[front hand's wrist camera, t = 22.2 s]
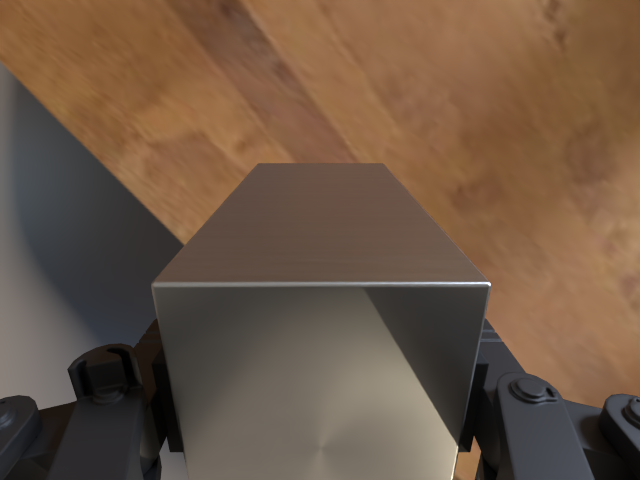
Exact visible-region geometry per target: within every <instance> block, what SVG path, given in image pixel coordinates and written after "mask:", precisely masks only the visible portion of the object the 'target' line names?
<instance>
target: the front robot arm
mask: <svg viewBox="0 0 640 480" xmlns="http://www.w3.org/2000/svg"><path fill="white" fill-rule="evenodd" d="M68 373H69V376H70V379H71V382H72V385H73V388H74V391H75V395H76V397H77V401H75V402H71V403H68V404H63V405H59V406H55V407H51V408H46V409H42V410H38V408H37V405H36V402H35V401H34V400H33V399H32V398H30V397H29V396H21V395H17V396H12V397H6V398H3V399H0V480H160V479H161V468H162V466H161V460H160V455H159V452H160V450H161V447H162V445H163V443H164V441H165V439H166V436H167V440H168V444H169V450H170V452H183V448H182V443H181V437H180V432H179V427H178V422H177V417H176V412H175V407H174V401H173V396H172V391H171V386H170V381H169V376H168V370H167V365H166V360H165V355H164V350H163V345H162V340H161V334H160V329H159V324H158V319H155V320H154V321H153V323H152V324H151V325H150V327H149V328H148V329H147V331H146V334H144V335H143V336H142V338H141V339H140V340H139V343H137V344H136V346H135V347H134V348H132V347H131V346H130V345H125V344H108V345H104V346H101V347H97V348H95V349H93V350H90V351H88V352H86V353H84V354H83V355H81V356H80V357H79V358H77V359H76V360H75V361H73V363H72V364H71V365H70V367H69V368H68ZM474 436H475V438H476V441H477V443H478V445H479V447H480V449H481V455H480V459H479V464H478V468H477V472H476V477H475V480H640V397H637V396H632V395H626V394H616V395H611V396H610V397H609V398H607V399H606V401H605V403H604V406H603V409H601V408H596V407H592V406H588V405H583V404H579V403H575V402H571V401H567V400H564V399H563V398H562V397H561V395H560V394H559V392H558V391H557V390H556V389H555V388H554V387H553V386H551V385H550V384H549V383H548V382H546V381H544V380H542V379H541V378H539V377H537V376H534V375H531V374H527V373H526V372H525V371H524V370H523V368H522V367H521V365H520V364H519V363H518V361H517V360H516V359H515V357H514V356H513V355H512V353H511V352H510V351H509V349H508V348H507V346H506V345H505V344H504V342H502V341H501V338H500V337H499V336H498V334H497V333H495V330H494V329H493V327H492V326H491V325H490V323H489V322H488V321H487V319H485V320H484V325H483V330H482V335H481V340H480V345H479V351H478V356H477V361H476V366H475V371H474V376H473V381H472V386H471V391H470V396H469V401H468V406H467V412H466V417H465V422H464V427H463V432H462V437H461V442H460V447H459V452H470V451H471V446H472V441H473V437H474Z"/></svg>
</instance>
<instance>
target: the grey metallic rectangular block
mask: <svg viewBox="0 0 640 480" xmlns="http://www.w3.org/2000/svg"><path fill="white" fill-rule="evenodd" d="M151 288H152V293H153V298H154V303H155V309H156V314H157V319H158V324H159V329H160V334H161V340H162V345H163V350H164V355H165V360H166V365H167V370H168V376H169V381H170V386H171V391H172V396H173V401H174V407H175V412H176V417H177V422H178V427H179V432H180V437H181V443H182V448H183V453H184V458H185V463H186V468H187V473H188V478H189V480H453V478H454V473H455V467H456V462H457V457H458V452H459V447H460V442H461V437H462V432H463V427H464V422H465V417H466V412H467V406H468V401H469V396H470V391H471V386H472V381H473V376H474V371H475V366H476V361H477V356H478V351H479V345H480V340H481V335H482V330H483V325H484V320H485V315H486V310H487V305H488V300H489V295H490V290H491V284H490V282H489V281H488V280H487V278H486V277H485V276H484V275H483V274H482V273H481V272H480V271H479V269H478V268H477V267H476V266H475V265H474V264H473V263H472V262H471V261H470V259H469V258H468V257H467V256H466V255H465V254H464V253H463V252H462V251H461V249H460V248H459V247H458V246H457V245H456V244H455V243H454V242H453V241H452V239H451V238H450V237H449V236H448V235H447V234H446V233H445V232H444V230H443V229H442V228H441V227H440V226H439V225H438V224H437V223H436V222H435V220H434V219H433V218H432V217H431V216H430V215H429V214H428V213H427V212H426V210H425V209H424V208H423V207H422V206H421V205H420V204H419V203H418V202H417V200H416V199H415V198H414V197H413V196H412V195H411V194H410V193H409V191H408V190H407V189H406V188H405V187H404V186H403V185H402V184H401V183H400V181H399V180H398V179H397V178H396V177H395V176H394V175H393V174H392V173H391V171H390V170H389V169H388V168H387V167H386V166H385V165H384V164H383V163H259V164H257V165H256V166H255V167H254V169H253V170H252V171H251V172H250V173H249V174H248V175H247V176H246V178H245V179H244V180H243V181H242V182H241V183H240V184H239V185H238V186H237V188H236V189H235V190H234V191H233V192H232V193H231V194H230V195H229V197H228V198H227V199H226V200H225V201H224V202H223V203H222V204H221V206H220V207H219V208H218V209H217V210H216V211H215V212H214V213H213V215H212V216H211V217H210V218H209V219H208V220H207V221H206V222H205V224H204V225H203V226H202V227H201V228H200V229H199V230H198V231H197V232H196V234H195V235H194V236H193V237H192V238H191V239H190V240H189V241H188V243H187V244H186V245H185V246H184V247H183V248H182V249H181V250H180V252H179V253H178V254H177V255H176V256H175V257H174V258H173V259H172V261H171V262H170V263H169V264H168V265H167V266H166V267H165V268H164V269H163V271H162V272H161V273H160V274H159V275H158V276H157V277H156V278H155V280H154V281H153V282H152V285H151Z"/></svg>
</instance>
